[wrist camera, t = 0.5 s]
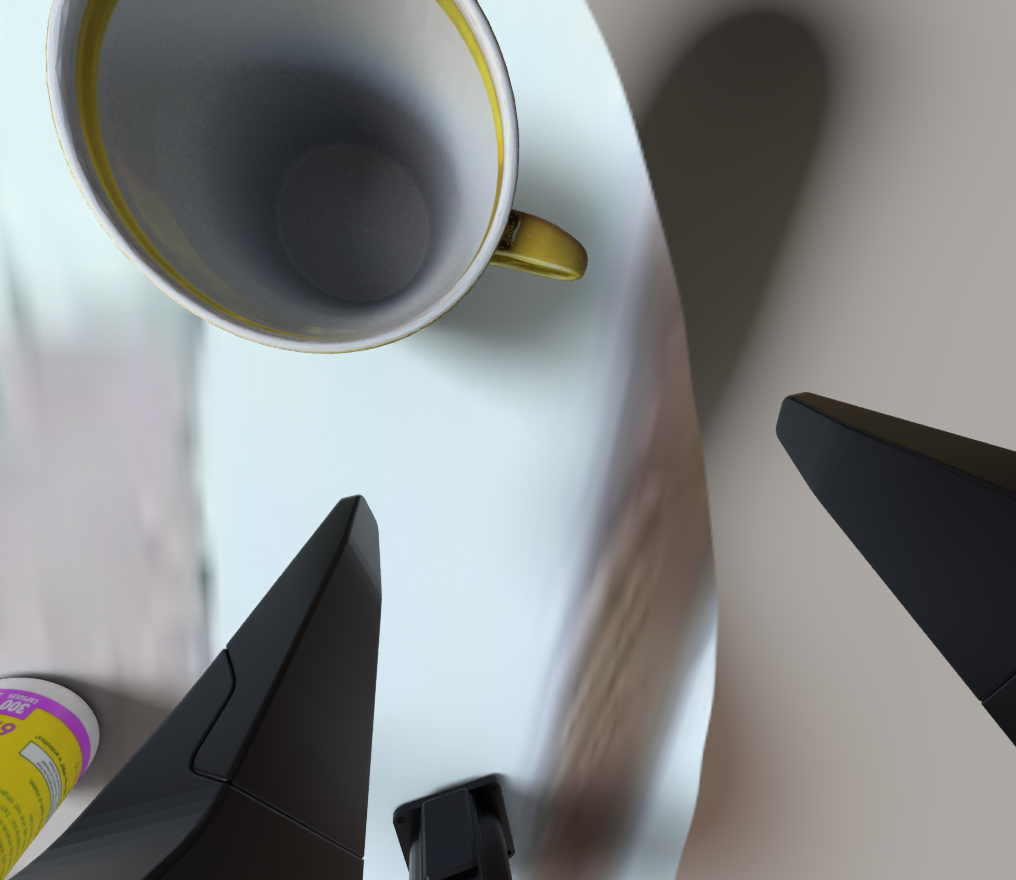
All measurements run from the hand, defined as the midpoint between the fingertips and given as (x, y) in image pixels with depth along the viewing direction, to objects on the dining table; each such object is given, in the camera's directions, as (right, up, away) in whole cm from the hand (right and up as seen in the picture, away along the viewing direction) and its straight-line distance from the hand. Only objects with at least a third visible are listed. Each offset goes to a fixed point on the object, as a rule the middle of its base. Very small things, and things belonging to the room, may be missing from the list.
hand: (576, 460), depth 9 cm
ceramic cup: (-7, +9, +11) cm, 16 cm away
